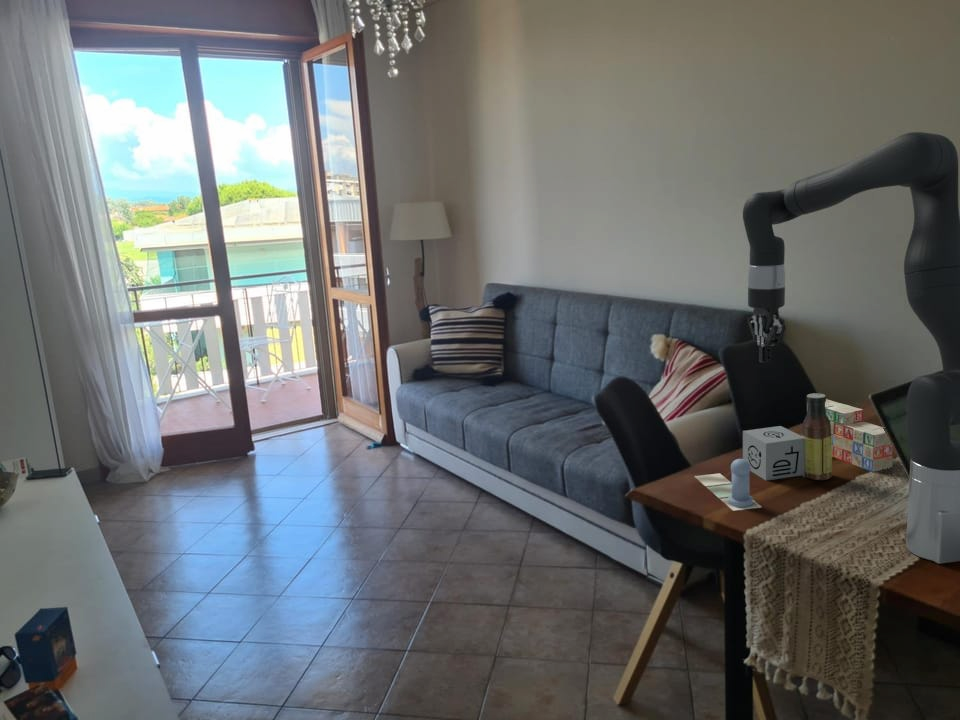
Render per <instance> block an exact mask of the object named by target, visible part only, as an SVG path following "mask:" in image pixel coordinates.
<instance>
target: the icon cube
mask: <svg viewBox="0 0 960 720" xmlns="http://www.w3.org/2000/svg"><path fill="white" fill-rule="evenodd" d="M742 459H744V460H746V461H747V462H748V463H749V464H750V467H751V470H750V473H751V472H752V473H753V474H755V476H758V477H760V478H761V479H763V480H764V481H771V480H772V481H773V480H778V479H779V480H781V479H786V478H791V477H799V476H800V477H801V476H802V477H803V478H804V479H805V478H806V476H805V438H804V437H803V436H802V434H798V433H797V432H794V431H793V430H790V429H789V428H786V427H784V426H781V425H779V426H778V425H777V426H771V427H770V426H769V427H763V428H755V429H748V430H742Z"/></svg>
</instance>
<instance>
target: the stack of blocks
mask: <svg viewBox="0 0 960 720" xmlns="http://www.w3.org/2000/svg"><path fill="white" fill-rule="evenodd" d="M807 410H808V403H807V402H806V411H807ZM825 411H826V415H827V417H828V419H829V420H830V424H831V434H832V458H835V459H837V460H840V461H844V462H846V463H849V464H851V465H853V466H856V467H858V468H862V469H863V470H865V471H866V470H867V471H869V472H871V473H872V472H877V471H882V469H884V470H887V468H888V469H891V468H890V467H892V468H893V459H894V458H893V455H894V446H893V447H892V444H891V442H890V440H889V438H888V436H887V434H886V433H885V431H884V429H883V428H884V427H883V426H879V425H876V424H872V423H870V422H866V421H864V409H862V408H858V407H855V406H851V405H848V404H845V403H840V402H837V401H834V400H830V399H827V398H826V402H825Z"/></svg>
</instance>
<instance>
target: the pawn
mask: <svg viewBox="0 0 960 720" xmlns="http://www.w3.org/2000/svg"><path fill="white" fill-rule="evenodd" d="M750 470H751V467H750V464H749V463H748V462H747V461H746V460H744V459H743V458H737V459H735V460H733V461H732V463H731V464H730V471H731V484H732V494H731V495H729V496H728V497H727V498H728V503H729V504H730V505H731V506H734V507H739V508H747V507H750V506H752V505H753V500H754V498H753V496H751V495H750V492H751V491H750V487H751V486H750V479H751V478H750V477H751V476H750V473H751V471H750Z"/></svg>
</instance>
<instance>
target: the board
mask: <svg viewBox="0 0 960 720" xmlns="http://www.w3.org/2000/svg"><path fill="white" fill-rule="evenodd" d="M694 478H695V479H697V480H698V481H699V482H700V483H701V484H702V485H703V486H704V487H706V488H707V489H708V490H709V492H711V493H712V494H714V495H715V496H716V497H717V498H718V499H719V500H720V501H722V503H724V504H725V505H726V506H727V507H728V508H729V509H730V510H732V511H733V512H735V511H736V512H737V511H745V510H751V509H760V508H762V506H761V505H760V504H759V503H757V502H756V501H755V500H754V499H753V505H752V506H750V507H747V508H739V507H734V506H731V505H730V504H729V503H728V496H729V495H731V494H732V481H730V480H729V479H728V478H726V476H724V475H722V474H721V473H720V472H719V473H713V474H703V475H702V474H700V475H694Z"/></svg>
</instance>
